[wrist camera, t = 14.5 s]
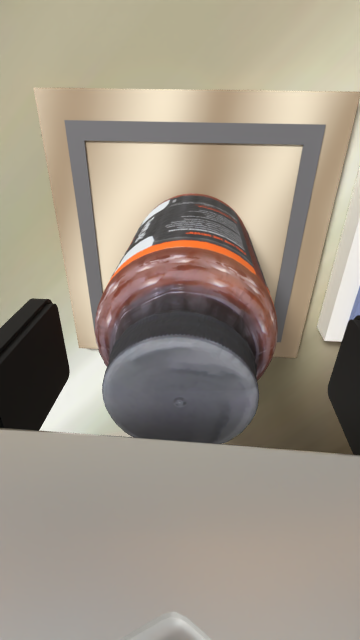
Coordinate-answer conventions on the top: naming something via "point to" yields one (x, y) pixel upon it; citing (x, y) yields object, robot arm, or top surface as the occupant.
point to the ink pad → (344, 276)
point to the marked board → (195, 179)
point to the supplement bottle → (186, 325)
